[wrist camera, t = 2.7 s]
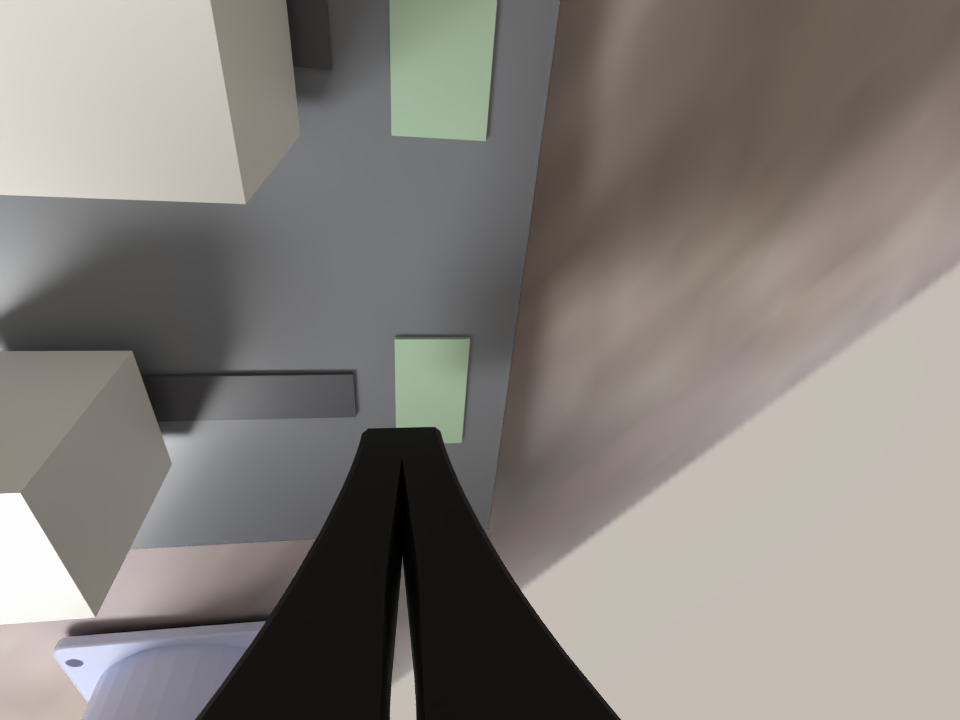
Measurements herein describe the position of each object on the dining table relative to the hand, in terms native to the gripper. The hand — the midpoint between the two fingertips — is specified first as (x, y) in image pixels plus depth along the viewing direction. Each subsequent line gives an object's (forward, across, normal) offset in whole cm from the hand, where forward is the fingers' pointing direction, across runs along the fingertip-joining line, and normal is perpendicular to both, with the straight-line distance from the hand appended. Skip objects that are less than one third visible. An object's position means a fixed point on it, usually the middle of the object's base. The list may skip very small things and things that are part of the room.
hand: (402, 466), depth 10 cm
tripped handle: (+2, +6, 0) cm, 7 cm away
